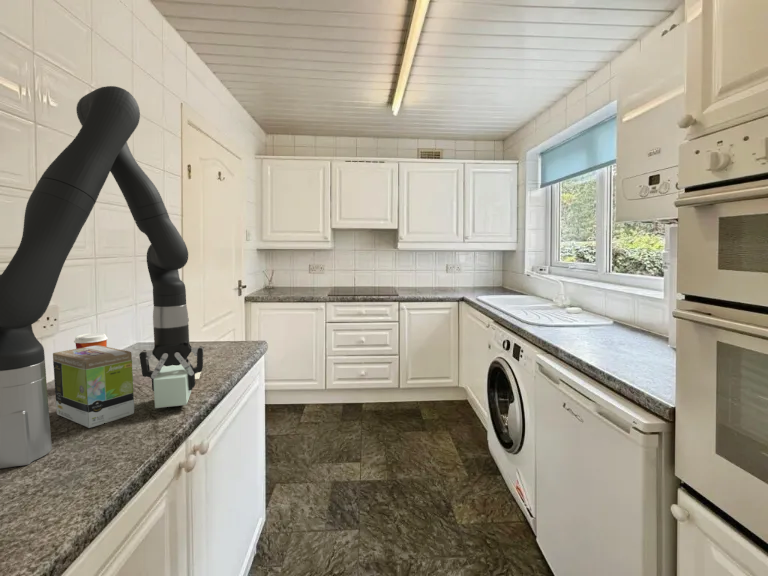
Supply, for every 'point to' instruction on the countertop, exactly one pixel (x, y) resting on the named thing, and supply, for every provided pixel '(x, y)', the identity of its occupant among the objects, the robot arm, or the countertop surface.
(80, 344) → the paper cup
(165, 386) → the mint green rectangular block
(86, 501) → the countertop surface
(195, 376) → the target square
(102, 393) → the tea box
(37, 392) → the robot arm
